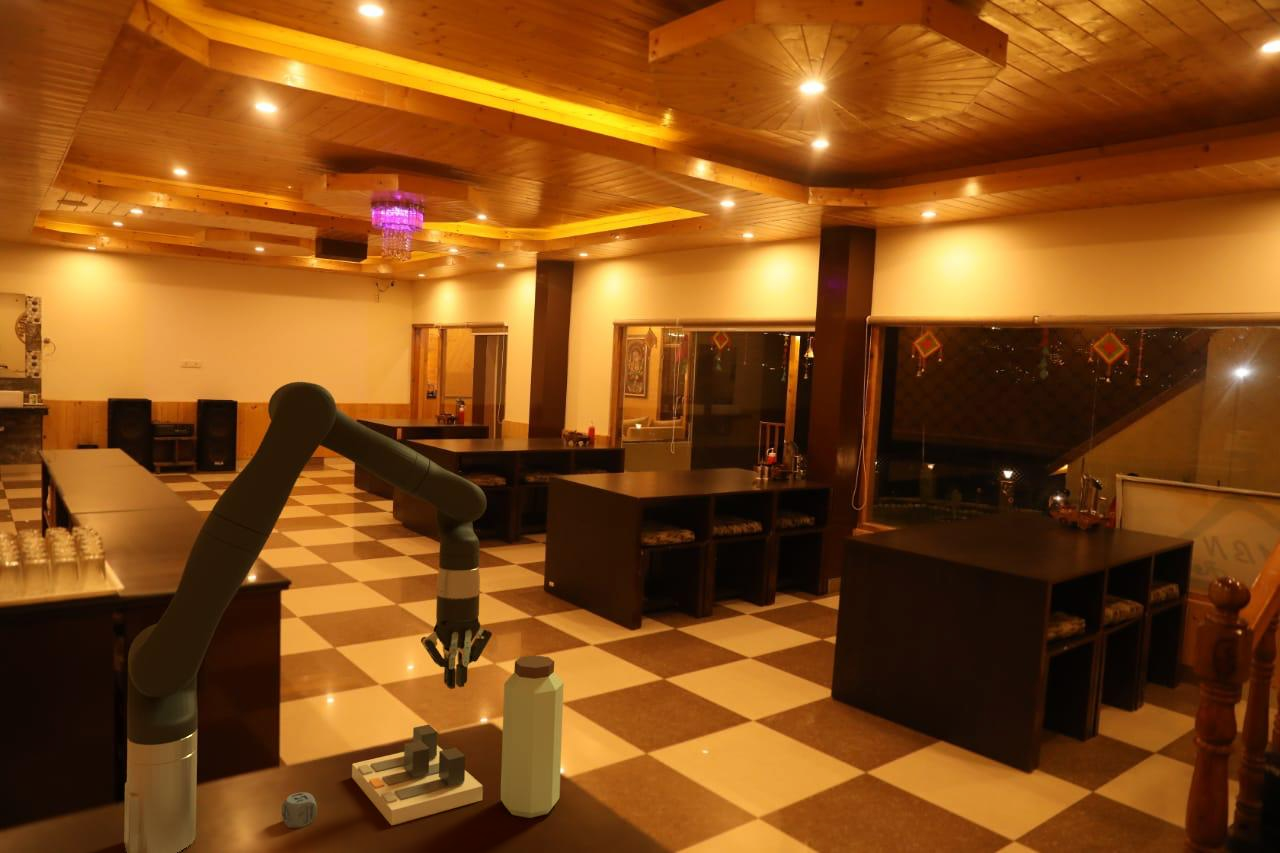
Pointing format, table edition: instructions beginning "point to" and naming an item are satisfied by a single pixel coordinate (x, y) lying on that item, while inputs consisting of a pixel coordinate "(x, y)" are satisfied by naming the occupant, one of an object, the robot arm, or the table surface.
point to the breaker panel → (411, 788)
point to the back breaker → (426, 738)
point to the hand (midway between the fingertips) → (455, 686)
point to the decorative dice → (299, 810)
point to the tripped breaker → (416, 758)
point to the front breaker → (451, 766)
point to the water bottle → (531, 737)
